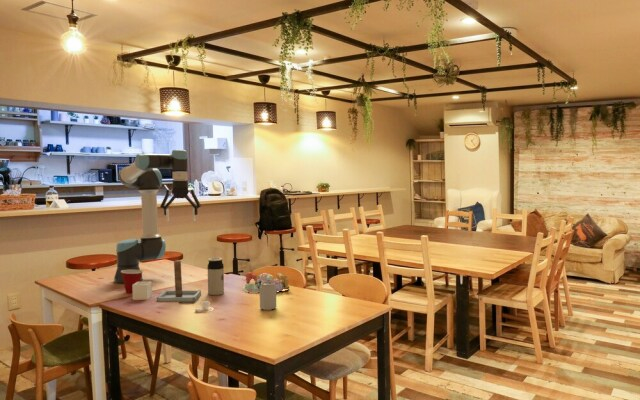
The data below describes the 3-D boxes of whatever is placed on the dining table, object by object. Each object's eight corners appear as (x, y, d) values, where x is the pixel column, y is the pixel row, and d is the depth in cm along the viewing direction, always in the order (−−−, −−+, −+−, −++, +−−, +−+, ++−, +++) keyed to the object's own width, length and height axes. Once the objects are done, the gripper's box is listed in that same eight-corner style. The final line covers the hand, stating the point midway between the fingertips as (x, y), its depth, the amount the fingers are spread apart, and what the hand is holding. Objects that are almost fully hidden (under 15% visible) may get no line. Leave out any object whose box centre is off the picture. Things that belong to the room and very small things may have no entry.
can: (279, 307, 228) (278, 281, 227) (272, 311, 221) (271, 285, 220) (264, 306, 230) (263, 280, 230) (257, 310, 223) (256, 284, 223)
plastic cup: (147, 293, 255) (146, 270, 254) (125, 297, 248) (125, 273, 247) (139, 289, 263) (138, 267, 262) (118, 293, 256) (117, 270, 255)
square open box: (137, 297, 247) (137, 281, 246) (152, 297, 247) (151, 281, 246) (132, 301, 240) (132, 284, 239) (147, 301, 240) (147, 284, 239)
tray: (165, 295, 251) (165, 290, 250) (201, 295, 251) (200, 290, 251) (156, 303, 237) (156, 297, 236) (194, 302, 237) (194, 297, 237)
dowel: (176, 296, 245) (174, 260, 244) (183, 296, 245) (181, 260, 244) (174, 298, 242) (173, 261, 240) (181, 298, 242) (179, 261, 240)
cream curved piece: (196, 314, 219) (196, 305, 219) (192, 309, 226) (192, 301, 226) (215, 311, 223) (215, 302, 223) (211, 307, 230) (211, 298, 230)
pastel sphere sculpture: (283, 283, 279) (282, 266, 278) (295, 292, 257) (295, 275, 256) (238, 286, 270) (238, 270, 269) (248, 297, 248) (247, 278, 247)
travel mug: (204, 294, 252) (204, 259, 251) (213, 291, 259) (213, 256, 258) (218, 296, 249) (217, 260, 248) (227, 292, 256) (226, 257, 255)
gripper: (153, 180, 250) (154, 222, 251) (203, 180, 251) (203, 222, 252) (157, 180, 258) (158, 220, 259) (206, 179, 258) (206, 220, 259)
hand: (181, 221), depth 255 cm, fingers open, 13 cm apart
